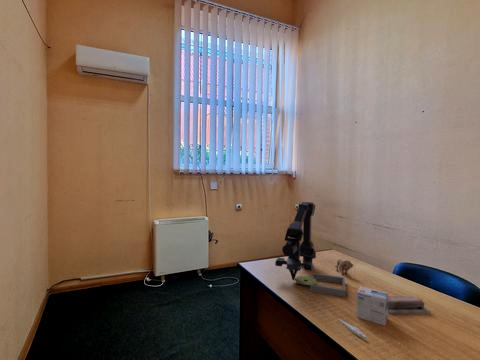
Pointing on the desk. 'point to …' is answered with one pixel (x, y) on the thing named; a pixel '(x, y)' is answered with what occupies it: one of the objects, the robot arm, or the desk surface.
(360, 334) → the stylus pen
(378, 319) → the light bulb box
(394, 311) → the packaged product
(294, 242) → the robot arm
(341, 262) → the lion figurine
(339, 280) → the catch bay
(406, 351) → the desk surface
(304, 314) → the desk surface
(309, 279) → the green speckled disc
